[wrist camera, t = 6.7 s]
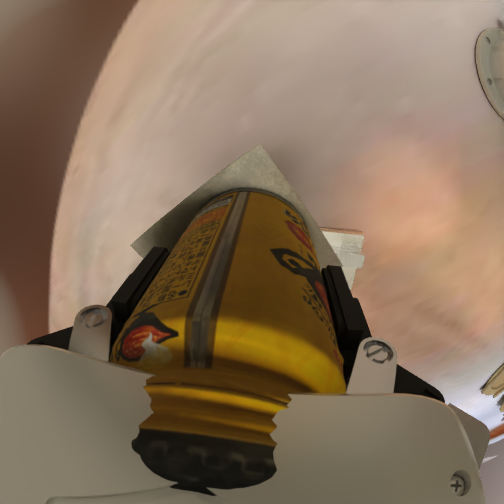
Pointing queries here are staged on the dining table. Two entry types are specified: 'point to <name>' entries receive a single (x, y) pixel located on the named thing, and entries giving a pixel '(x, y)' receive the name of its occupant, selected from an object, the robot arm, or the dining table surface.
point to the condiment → (230, 327)
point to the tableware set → (496, 385)
